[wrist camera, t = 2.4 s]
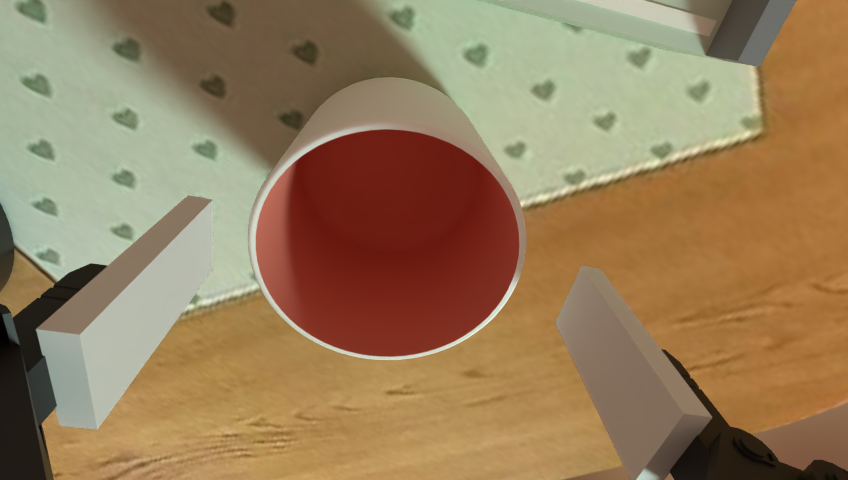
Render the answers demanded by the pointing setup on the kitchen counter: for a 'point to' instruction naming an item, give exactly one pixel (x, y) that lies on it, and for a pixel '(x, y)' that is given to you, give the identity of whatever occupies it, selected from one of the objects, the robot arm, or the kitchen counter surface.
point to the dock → (675, 23)
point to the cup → (387, 225)
